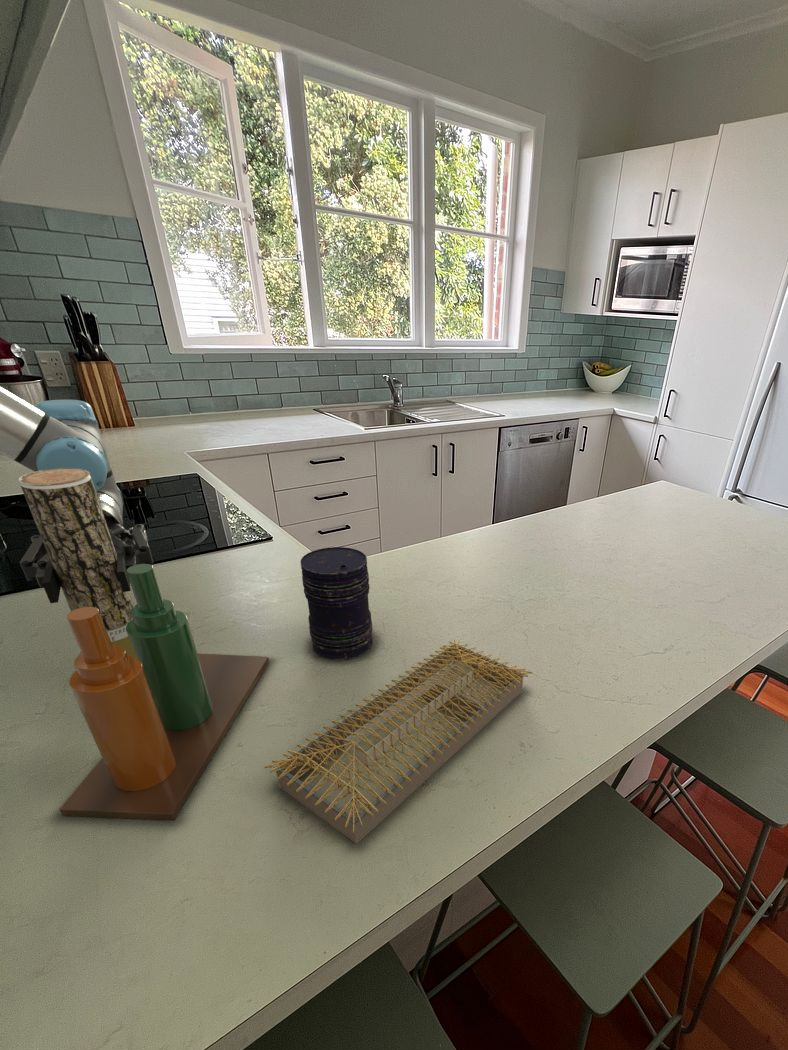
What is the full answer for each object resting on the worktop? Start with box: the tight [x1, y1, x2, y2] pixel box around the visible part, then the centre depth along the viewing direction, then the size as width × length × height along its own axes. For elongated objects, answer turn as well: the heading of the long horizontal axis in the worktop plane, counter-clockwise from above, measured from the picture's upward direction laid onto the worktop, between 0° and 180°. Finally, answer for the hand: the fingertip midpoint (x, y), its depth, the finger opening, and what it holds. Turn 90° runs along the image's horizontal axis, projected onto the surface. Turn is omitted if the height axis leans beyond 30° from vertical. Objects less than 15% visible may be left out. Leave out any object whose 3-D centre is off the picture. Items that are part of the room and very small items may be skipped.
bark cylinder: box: [18, 468, 136, 658], centre depth 69 cm, size 7×7×25 cm
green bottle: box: [126, 563, 213, 730], centre depth 66 cm, size 6×6×21 cm
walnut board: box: [59, 652, 270, 821], centre depth 71 cm, size 12×30×1 cm, turn 179°
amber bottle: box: [65, 607, 176, 791], centre depth 57 cm, size 6×6×21 cm
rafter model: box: [263, 638, 533, 844], centre depth 70 cm, size 35×14×6 cm, turn 145°
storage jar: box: [300, 546, 374, 661], centre depth 85 cm, size 10×10×15 cm
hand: (87, 587), depth 65 cm, fingers closed on bark cylinder, 7 cm apart
